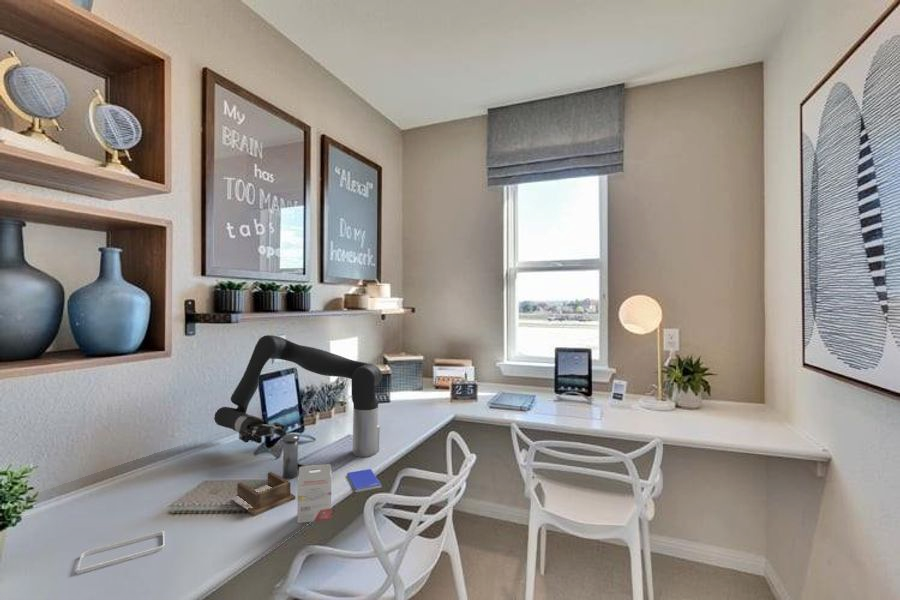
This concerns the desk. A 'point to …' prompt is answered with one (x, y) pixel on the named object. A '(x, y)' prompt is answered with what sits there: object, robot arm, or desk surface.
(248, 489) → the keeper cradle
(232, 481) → the desk surface
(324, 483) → the ink cartridge box
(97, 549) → the rectangular frame
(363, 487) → the hard drive
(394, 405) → the desk surface
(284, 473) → the pin
